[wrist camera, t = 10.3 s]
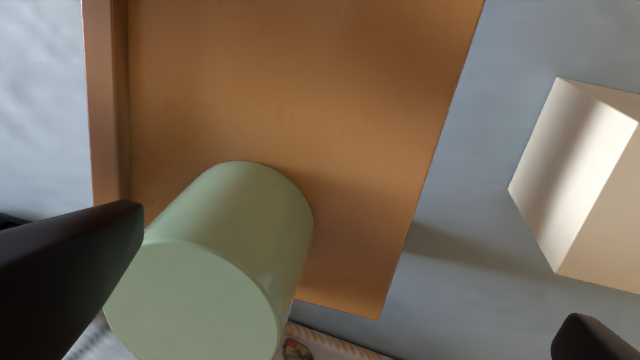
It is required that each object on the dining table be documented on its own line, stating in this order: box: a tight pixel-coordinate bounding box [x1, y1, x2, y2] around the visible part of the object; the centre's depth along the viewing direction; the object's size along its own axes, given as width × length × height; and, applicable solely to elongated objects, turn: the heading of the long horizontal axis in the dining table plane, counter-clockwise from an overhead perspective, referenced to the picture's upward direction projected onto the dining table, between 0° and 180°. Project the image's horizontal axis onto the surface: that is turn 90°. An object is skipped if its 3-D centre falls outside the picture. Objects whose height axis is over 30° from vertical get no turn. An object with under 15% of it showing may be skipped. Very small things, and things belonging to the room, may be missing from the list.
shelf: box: [81, 0, 486, 320], centre depth 14 cm, size 20×11×6 cm, turn 169°
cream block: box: [508, 77, 640, 295], centre depth 14 cm, size 5×5×6 cm
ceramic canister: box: [103, 161, 314, 360], centre depth 13 cm, size 5×5×5 cm
